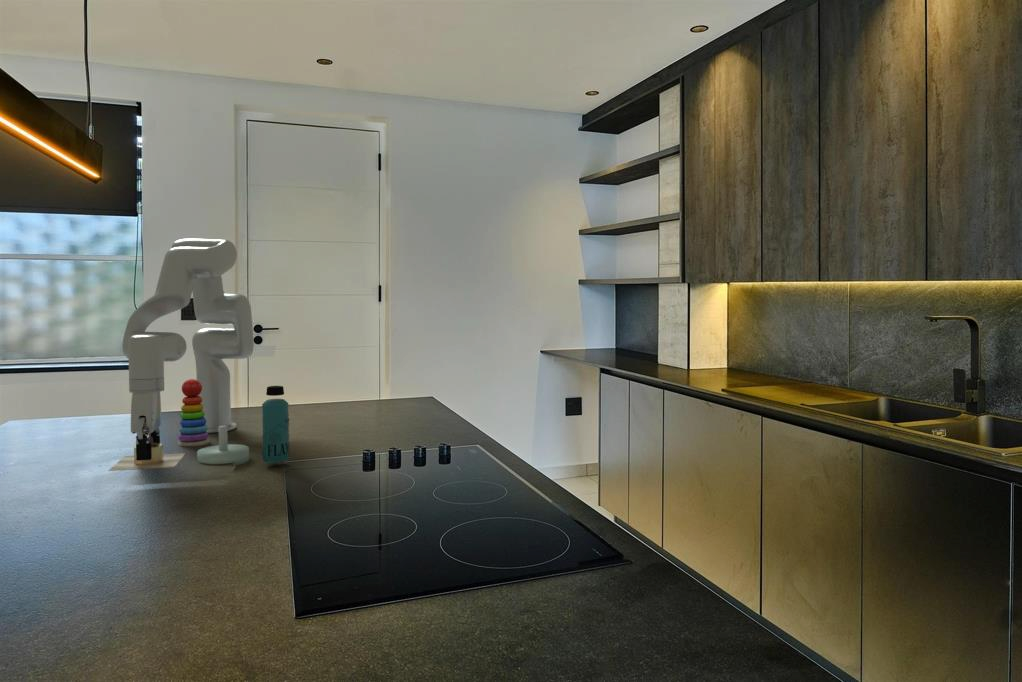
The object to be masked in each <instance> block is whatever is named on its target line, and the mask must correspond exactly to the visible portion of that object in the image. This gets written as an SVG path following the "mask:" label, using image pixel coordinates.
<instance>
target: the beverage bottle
mask: <svg viewBox="0 0 1022 682" xmlns="http://www.w3.org/2000/svg"><path fill="white" fill-rule="evenodd" d="M265 394H266V396H268V397H269V396H272V397H273V396H274V397H275V396H278V397H279V396H283V395H285V390H284V386H283V385H269V386H267V387H266V393H265ZM289 405H290V404H289V402H288V401H287V400H285V399H284V398H269V399H266V400H265V401H264V402H262V404H261V408H262V411H261V412H262V446H261V447H262V454H261V457H262V461H263V462H264V463H268V464H275V463H276V464H277V463H282V462H283V463H284V462H287V461H288V460H289V458H290V428H289V427H290V417H289Z"/></svg>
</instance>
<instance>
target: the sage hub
mask: <svg viewBox="0 0 1022 682" xmlns="http://www.w3.org/2000/svg"><path fill="white" fill-rule="evenodd" d="M228 441H229V440H228V431H227V426H219V432H218V444H217V445H211V446H205V447H203V448H200V449H198V450H197V451H196V456H197V458H196V459H197V460H196V461H197V462H198V463H200V464H208V465H221V464H223V465H224V464H231V463H232V465H231V466H232V467H236V466H240V465H243V464H247V463H248V462H249V461H250V452H249V451H250V448H249V446H247V445H245V444H237V443H236V444H235V443H233V444H232V443H230V444H229V443H228Z"/></svg>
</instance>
